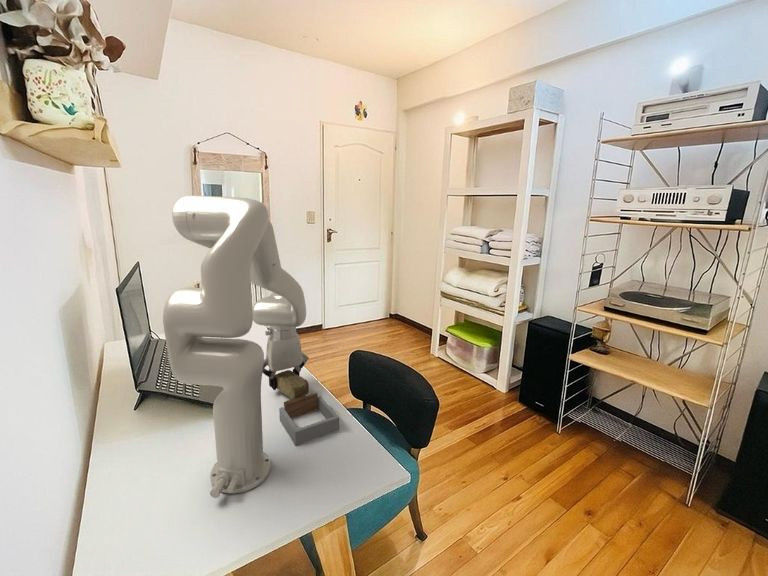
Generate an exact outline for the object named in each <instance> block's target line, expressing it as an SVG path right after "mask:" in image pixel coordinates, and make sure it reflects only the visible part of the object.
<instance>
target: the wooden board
mask: <svg viewBox="0 0 768 576" xmlns="http://www.w3.org/2000/svg"><path fill="white" fill-rule="evenodd" d="M318 397H319V394H318V392H315V393H314V392H313V393H310V394H307V395H305V396H303V397H299V398H296V399H289V400H286V401H283V408H284V409H285V411H286V412H287V414H288V415H289V417H290V418H291V419H293V418H296V417H299V416H302V415H306V414H309V413H312V412H315V411H319V410H318Z"/></svg>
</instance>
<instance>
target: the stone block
mask: <svg viewBox="0 0 768 576" xmlns="http://www.w3.org/2000/svg"><path fill="white" fill-rule="evenodd" d="M274 377H275V378H276V390H278V391H279V392H281V393H283V395H285V396H287V398H290V400H292V399H296V398H299V397H303V396H307V395H309V392H310V389H309V388H310V387H309V381H308V380H307V379H305V378H304V377H302V376H299V375H297V374H295V373H294V372H293V370H291V369H285V370H282V371H279V372H278V373H275V376H274Z"/></svg>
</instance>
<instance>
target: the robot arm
mask: <svg viewBox="0 0 768 576" xmlns="http://www.w3.org/2000/svg"><path fill="white" fill-rule="evenodd" d="M268 211H269V210H268V208H267V206H266V205H265V204H264V203H263V202H261V201H259V200H256V199H252V198H249V197H236V196H214V195H213V196H212V195H211V196H210V195H185V196H183V197H180V198H179V199H177V201H176V202H175V203H174V206H173V209H172V213H171V217H172V223H173V225H174V227H175V229H176V231H177V232H178V233H179V235H180V236H182V237H183V238H184V239H186V240H188V241H190V242H193V243H195V244H197V245H200V246H201V247H202V246H203V247H205V248H208V249H209V250H208V251H207V253H206V254H205V256H204V258H203V259H202V262H201V264H200V278H201V287H183V288H179V289H175V290H174V291H173V292H172V293H171V294H170V295H169V296H168V298H166V302H165V304H164V306H163V313H162V323H163V330H164V331H163V332H164V337H165V341H166V342H165V343H166V348H167V349H166V350H167V354H168V360H169V365H170V369H171V373H172V375H173V377H174V378H175V379H176V381H178V382H180V383H182V384H187V385H199V386H213V387H221V388H222V390H221V391H220V393H219V394H218V395H217V396H216V398H215V399H214V401H213V405H212V406H213V407H212V416H213V427H214V429H213V430H214V439H215V441H214V442H215V449H216V450H215V452H216V463H214V465H213V467H212V468H211V469H210V470H211V471H210V483H211V485H212V488H211V490H210V491H209V495H210V496H211V498H214V499H216V498H217V499H218V498H219V496H221V494H222V493H224V494H240V493H245V492H247V491H250V490H252V489H254V488H256V487H258V486H260V485H261V484H262V483H263V482H264V481H265V480H266V479H267V478H268V476H269V475H270V473H271V468H272V460H271V458H270V455H269V454H268V453H266V452H265V451H264V442H263V441H264V439H263V438H264V437H263V435H264V434H263V417H262V416H263V415H262V414H263V412H262V411H263V410H262V381H263V380H262V379H263V375H265V376H266V377H268V384H269V387H270V388H271V389H272V390H273V391H276V390H277V388H276V378H275V377H274V376H275V374H277V372H281V371H286V370H290V369H292V372H294V373H295V374H297V375H299V376H300V373H301V372H302V368H304V366H305V365H306V363H307V362H308V360H309V359H310V358H309V356H308V355H306V354H305V353H304V352H302V351H303V350H302V344H301V343H302V342H301V338H300V334H299V333H297V328H298V327H300V326H302V325H303V324H304V323H305V320H306V319H307V318H306V317H307V307H306V300H305V299H306V298H305V294H304V291H303V287H302V286H301V285H300V284H299V282H298V281H297V280H296V279H295V278H294V277H293V276H292V275H291V274H290V273H289V272H288V271H286V270H285V269H284V268H282V266H281V264H282V263H281V260H280V255H279V249H278V246H277V245H278V244H277V240H276V236H275V229H274V226H273V224H272V223H271V221H270V219H269V212H268ZM251 283H252V284H254V285H255V286H258V287H260V288H261V289H264V290H267V291H268V292H272V293H270V294H269V295H267V296H266V297H262V298H260V299H258V300H257V301H256V302H255V303H253V299H252V285H251ZM253 323H254V324H256V325H259V326H264V327H265V326H266V327H269V329H267V330H266V331H264V332H265V336H268V337H267V342H266V343H267V344H266V349H265V350H266V351H265V352H266V353H265V354H266V355H264V350H263V348H262V346H261V345H259V344H258V343H257V342H255V341H252V340H248V339H242V338H239V337H244V336H246V335H247V334H248V333H249V332H250V331H251V328H252V326H253ZM266 367H268V369H266ZM300 377H301V376H300Z"/></svg>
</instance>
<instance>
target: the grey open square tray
mask: <svg viewBox="0 0 768 576" xmlns="http://www.w3.org/2000/svg"><path fill="white" fill-rule="evenodd" d="M278 411H279V422H280V424H281V426H282V427H283V428H284V430H285V432H286V433H287V435H288V436H289V437H290V441H292V442H293V444H294V446H295V447H297V446H300V445H302V444H305V443H307V442H312V441H313V440H317V439H320V438H322V437H326V436H327V435H330V434H332V433H333V434H334V433H336V432H339V431H340V420H341V419H340V416H339V415H338V414H337V413H336V412H335V410H334V409H333V408H332V407H331V405H329V404H328V402H327V401H325V399H324V398H323V397H322V396H321V395H318V410H317V411H318V412H319V413H320V414H321V415H322V416H323V418H324V419H322V420H320V421H317V422H314V423H311V424H308V425H305V426H302V427H299V428H298V427H297V426H296V424H295V422H294V421H293V419H292V418H290V417H289V415H288V414H287V412H286V411H285V409H284V406H281V407H279V410H278Z"/></svg>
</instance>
